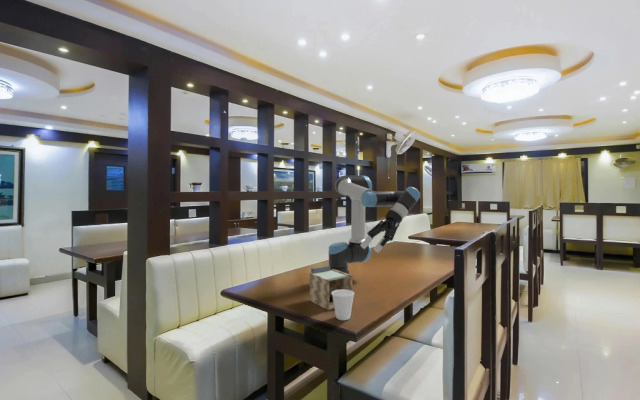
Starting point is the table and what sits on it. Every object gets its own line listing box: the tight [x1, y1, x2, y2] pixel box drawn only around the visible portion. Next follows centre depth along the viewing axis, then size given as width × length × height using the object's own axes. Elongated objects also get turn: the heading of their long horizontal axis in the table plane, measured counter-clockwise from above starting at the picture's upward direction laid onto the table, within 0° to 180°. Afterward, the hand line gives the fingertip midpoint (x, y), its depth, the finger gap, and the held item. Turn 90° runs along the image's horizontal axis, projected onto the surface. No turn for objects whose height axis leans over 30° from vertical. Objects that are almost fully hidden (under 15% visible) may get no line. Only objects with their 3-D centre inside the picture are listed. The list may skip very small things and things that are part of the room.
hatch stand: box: [309, 269, 354, 311], centre depth 156 cm, size 16×15×14 cm
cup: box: [331, 289, 355, 321], centre depth 137 cm, size 10×10×11 cm
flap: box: [308, 264, 347, 281], centre depth 158 cm, size 15×12×3 cm
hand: (368, 249), depth 144 cm, fingers open, 13 cm apart
